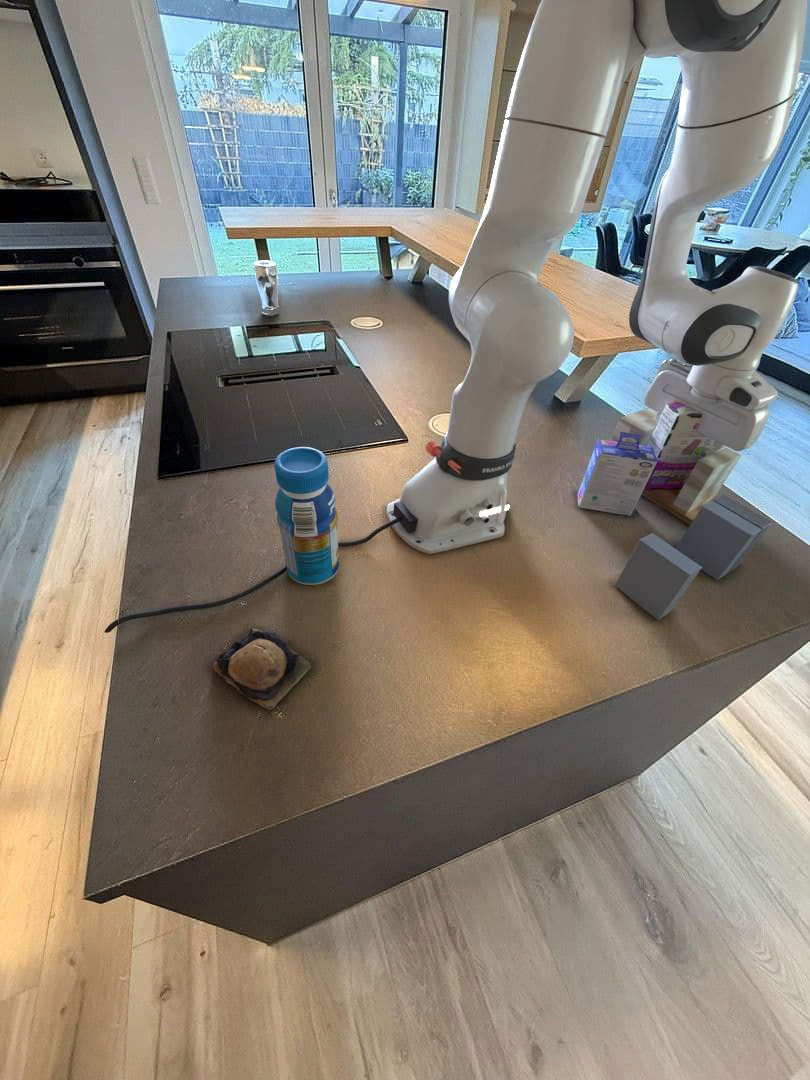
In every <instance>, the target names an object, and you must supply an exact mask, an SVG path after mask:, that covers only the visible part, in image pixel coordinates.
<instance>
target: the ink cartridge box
mask: <svg viewBox="0 0 810 1080" xmlns="http://www.w3.org/2000/svg"><path fill="white" fill-rule="evenodd" d="M627 437H631V438H633V439H635V440H636V443H630V442H624V441H622V438H627ZM640 439H641V435H638V434H631V433H625V432H620V435H619V438H618V441H617V442H613V441H611V440H606V439H605V440H604V439H597V440H596V442H595V446H594V448H593V451H592V455H591V457H590V460H589V462H588V466H587V468H586V471H585V474H584V476H583V479H582V482H581V484H580V487H579V490H578V491H577V503H578V505H577V506H578V508H579V509H585V510H592V511H599V512H604V513H609V514H617V515H622V516H627V517H628V516H629V517H630V516H632V514H633V513H634V509H635V508H636V506H637V503H638V502H639V499H640V497H641V496H642V492H643V490H644V487H645V485H646V483H647V481H648V480H649V478H650V476H651V474H652V472H653V470H654V468H655V466H656V464H657V461H658V460H657V458H656V455H655V452H654V450H653V448H652V447H651V446H643V445H640Z"/></svg>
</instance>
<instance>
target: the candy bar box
mask: <svg viewBox="0 0 810 1080" xmlns="http://www.w3.org/2000/svg"><path fill="white" fill-rule="evenodd" d="M703 417H704V414H703V413H701V412H699V411H697V410H695V409H693V408H690V407H688V406H686V405H683V404H681V403H666V405H665V407H664V409H663V412H662V414H661V416H660V418H659V420H658V423H657V425H656V427H655V429H654V431H653V433H652V436H651V438H650V440H649V442H648V444H647V446H651V447H652V448H653V450H654V452H655V455H656V458H657V460H658V461H657V464H656V466H655V468H654V470H653V472H652V474H651V476H650V478H649V480H648V481H647V483H646V485H645V487H644V490H658V489H682V488H683V486H684V484H685V482H686V481H687V479H688V477H689V476H690V474H691V472H692V470H693V469H694V467H695V465H696V463H697V462H698V460H700V459H699V458H698V457H699V455H700V453H701V451H702V450H705V449H707V448H708V449H710V450H711V449H713V448H715V447H714V446H713V443H714V442H715V440H713V439H711V438H709V437H707V436H705V435H703V434H701V433H699V432H697V429H698V427H699V425H700V423H701V421H702V419H703Z"/></svg>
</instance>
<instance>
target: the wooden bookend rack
mask: <svg viewBox="0 0 810 1080" xmlns="http://www.w3.org/2000/svg"><path fill="white" fill-rule="evenodd" d="M657 413H658V412H657V411H655V410H653V409H651V408H649V407H647V408H644V409H641V410H639V411H635V412H633V413H629V414H627V415H624V416H621V417H619V418H618V422H617V423H616V426H615V429H614V431H613V434H612V436H611V438H610V441H613V442H617V441H618V438H619V435H620V432H625V433H631V434H638V435H641V439H640V445H643V446H647V444H648V442H649V440H650V438H651V436H652V433H653V431H654V429H655V427H656V425H657V423H656V415H657ZM622 441H624V442H630V443H636V440H635V439H633V438H631V437H627V438H622ZM741 457H742V454H741V453H738V452H737V451H735V450H733V449H731V448H729V447H724V448H722V449H720V450H718V451H717V452H715V453H713V454H711V455H708V456H706V457H704V458H702V459H700V460H698V462H697V463H696V465H695V467H694V469H693V470H692V472H691V474H690V476H689V477H688V479H687V481H686V482H685V484H684V486H683V488H682V489H658V490H643V492H642V494H641V496H643V497H644V498H646V499H648V500H649V501H651V502H653V503H654V504H656V505H657V506H659V507H660V508H663V509H664V510H665V511H667V512H668V513H670V514H671V515H673V516H674V517H676V518H678V519H679V520H681V521H682V522H684V523H686V525H689V526H690V525H691V523H692V522H693V520H694V518H695V517H696V515H697V514H698V512H699V511H700V509H701V507H702V506H704V505H706V504H707V503H709V502H711V501H713V500H715V499H717V498H718V497H716V496H717V495H718V493H719V491H720V490H721V488H722V487H723V485H724V483H725V482H726V481H727V478H728V477H729V476H730V474H731V473H732V472H733V470H734V468H735V467H736V465H737V463H738V462H739V460H740V459H741Z"/></svg>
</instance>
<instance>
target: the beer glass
mask: <svg viewBox="0 0 810 1080" xmlns="http://www.w3.org/2000/svg"><path fill="white" fill-rule="evenodd" d="M253 265H254V276H255V282H256V287H257V291H258V293H259V296H260V300H261V309H262V308H263V309H266V310H273V309H277V308H278V307H279V308H280V306H279V305H280V304H279V299H278V298H279V277H278V270H277V267H276V263H275V262H274V261H272V260H271V261H270V260H258V261H255V262H253ZM261 314H262V315H264V316H266V317H274V316H273V315H272V314H270V313H268V314H267V313H264V312H262V311H261ZM269 314H270V315H269Z"/></svg>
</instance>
